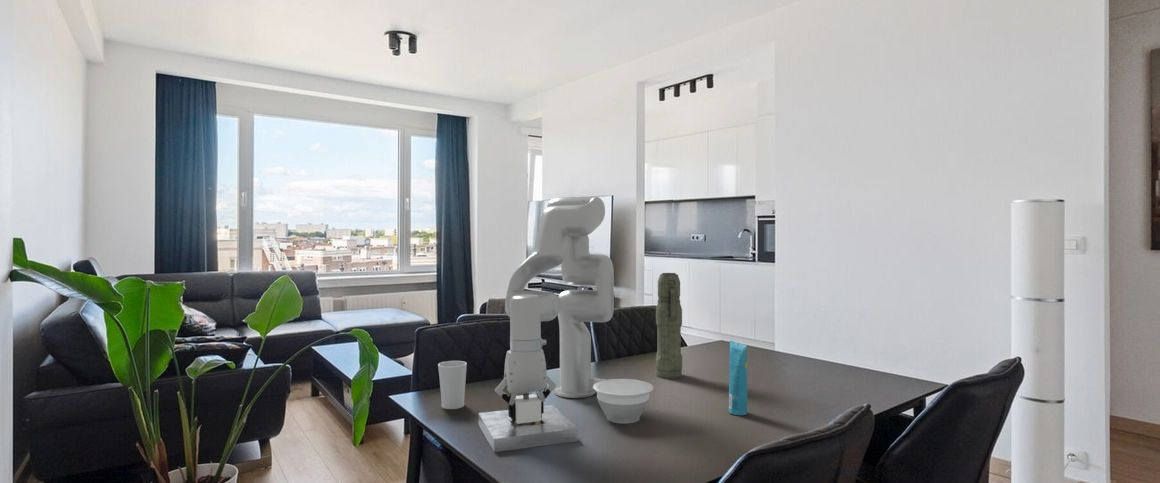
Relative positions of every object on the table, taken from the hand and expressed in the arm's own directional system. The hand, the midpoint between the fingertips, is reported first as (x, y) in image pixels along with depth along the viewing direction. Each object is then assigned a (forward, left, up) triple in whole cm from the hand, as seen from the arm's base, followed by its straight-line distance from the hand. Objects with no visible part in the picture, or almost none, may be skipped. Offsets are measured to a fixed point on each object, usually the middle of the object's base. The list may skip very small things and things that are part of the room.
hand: (526, 417), depth 146 cm
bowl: (-27, -2, -4) cm, 27 cm away
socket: (0, 0, -4) cm, 4 cm away
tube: (-58, +5, -4) cm, 58 cm away
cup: (+14, -29, -4) cm, 32 cm away
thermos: (-60, -38, -4) cm, 71 cm away
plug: (0, 0, -2) cm, 2 cm away
